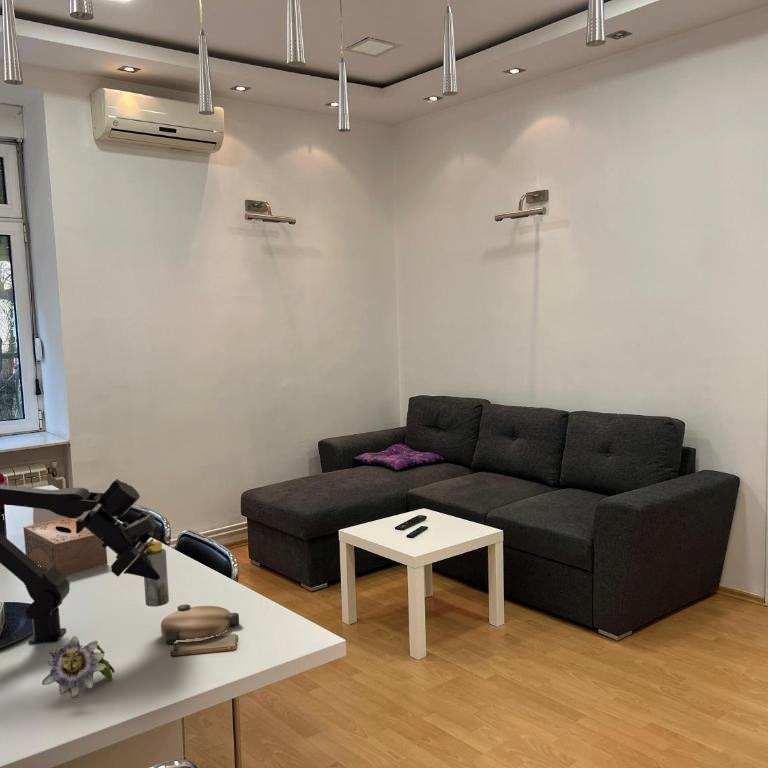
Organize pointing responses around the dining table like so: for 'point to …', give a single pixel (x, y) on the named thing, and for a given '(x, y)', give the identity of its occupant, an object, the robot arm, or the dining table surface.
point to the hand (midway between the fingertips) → (161, 574)
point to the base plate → (197, 622)
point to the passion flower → (77, 666)
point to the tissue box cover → (63, 546)
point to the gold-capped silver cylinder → (157, 559)
